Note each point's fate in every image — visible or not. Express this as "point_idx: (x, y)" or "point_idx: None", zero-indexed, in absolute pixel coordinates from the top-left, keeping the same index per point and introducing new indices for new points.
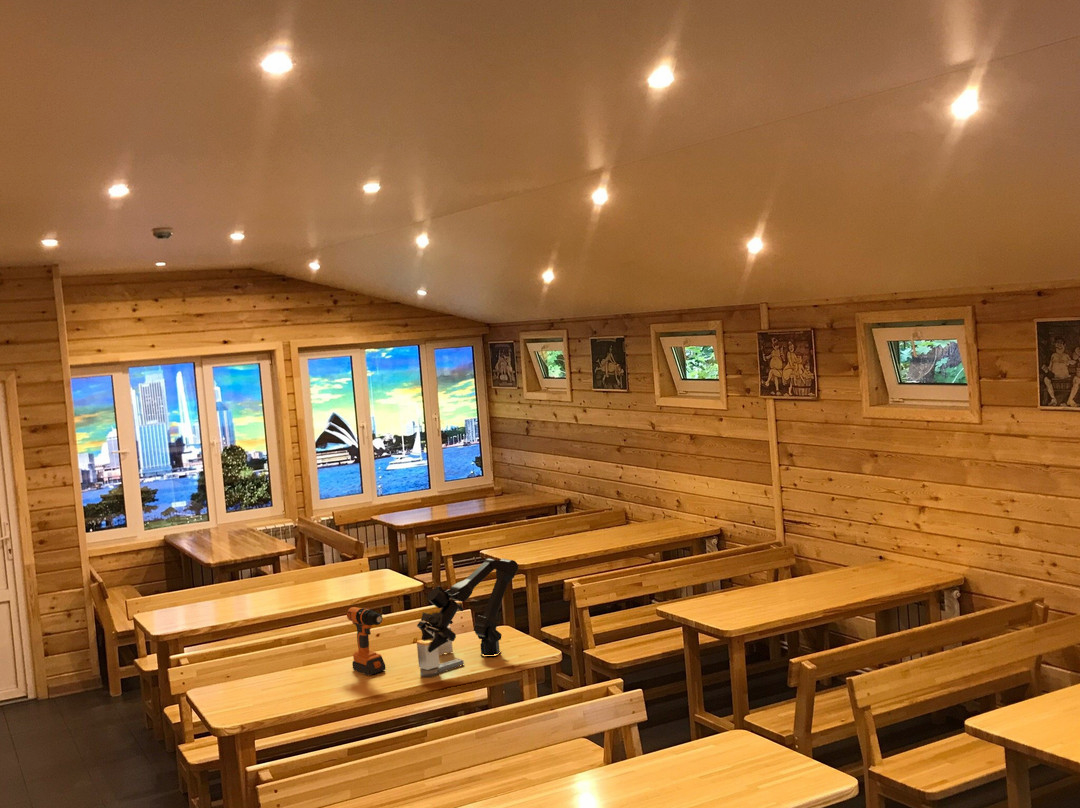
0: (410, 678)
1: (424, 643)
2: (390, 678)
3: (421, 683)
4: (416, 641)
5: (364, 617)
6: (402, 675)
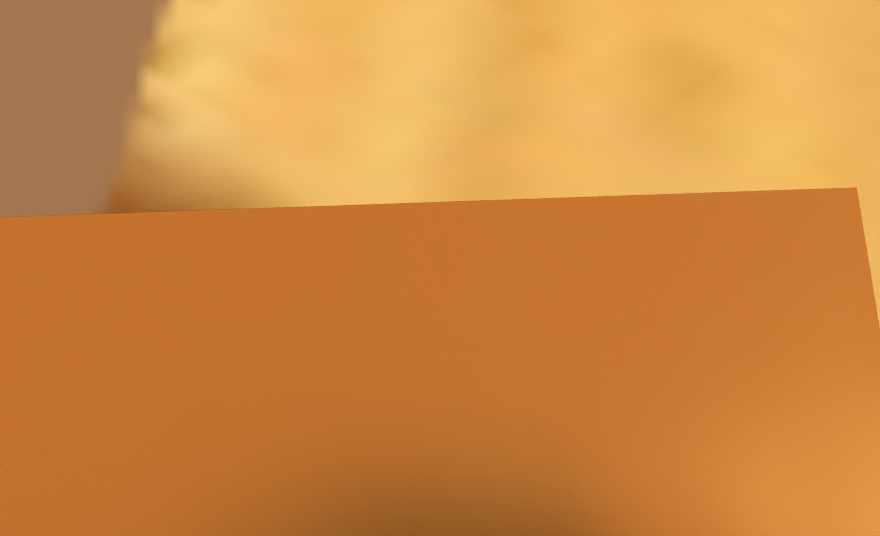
0: (531, 192)
1: (61, 240)
2: (783, 4)
3: (168, 176)
4: (847, 190)
5: None
6: (776, 188)
